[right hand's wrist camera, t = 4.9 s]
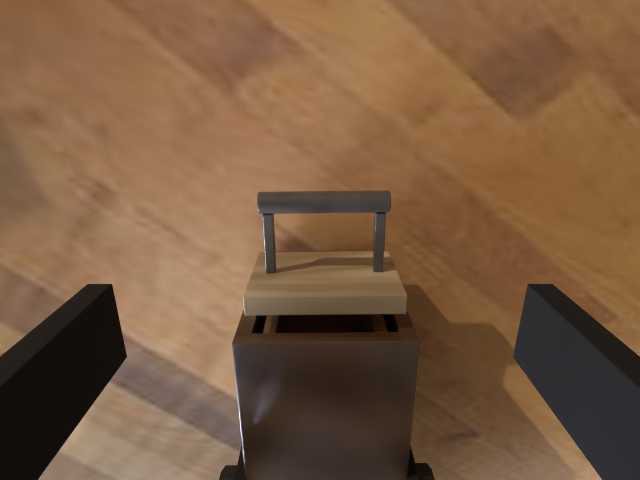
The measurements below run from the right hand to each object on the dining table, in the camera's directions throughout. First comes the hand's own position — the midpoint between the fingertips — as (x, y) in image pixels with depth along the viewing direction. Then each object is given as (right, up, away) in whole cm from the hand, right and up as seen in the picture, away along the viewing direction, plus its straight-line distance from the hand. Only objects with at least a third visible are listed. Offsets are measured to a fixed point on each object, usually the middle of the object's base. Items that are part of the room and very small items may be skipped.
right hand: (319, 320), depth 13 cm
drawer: (0, -3, +17) cm, 17 cm away
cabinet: (0, -8, +19) cm, 21 cm away
